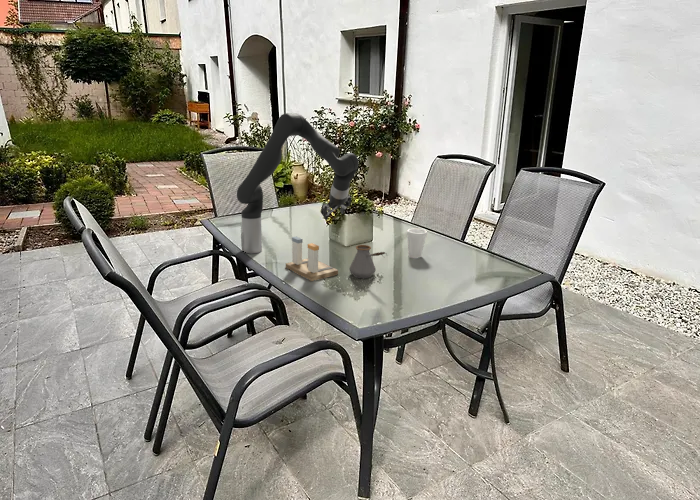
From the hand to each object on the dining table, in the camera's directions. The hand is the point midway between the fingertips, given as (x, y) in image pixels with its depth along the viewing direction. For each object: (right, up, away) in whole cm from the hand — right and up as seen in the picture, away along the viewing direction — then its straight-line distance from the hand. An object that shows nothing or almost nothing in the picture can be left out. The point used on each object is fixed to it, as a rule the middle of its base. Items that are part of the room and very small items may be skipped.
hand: (333, 215), depth 210 cm
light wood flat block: (-10, -25, -6) cm, 27 cm away
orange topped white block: (-8, -25, -13) cm, 29 cm away
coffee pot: (+15, -28, -12) cm, 34 cm away
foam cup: (+39, -19, +19) cm, 47 cm away
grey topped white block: (-16, -21, -4) cm, 27 cm away
